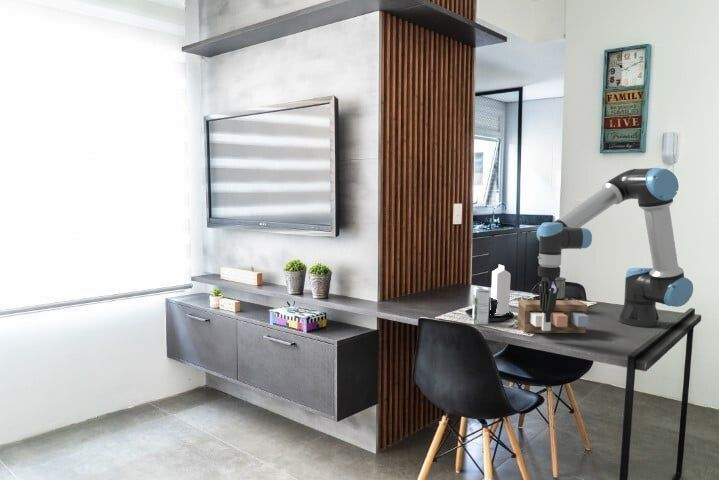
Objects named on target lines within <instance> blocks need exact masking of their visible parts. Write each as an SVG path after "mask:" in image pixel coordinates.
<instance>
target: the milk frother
mask: <svg viewBox="0 0 719 480" xmlns="http://www.w3.org/2000/svg"><path fill="white" fill-rule="evenodd" d="M566 280H567V278H565V277H563V276H560V277H558V278H555V281H556V288H559V291H558V294H557V299H556V300H565V293H566V292H565V291H566ZM526 300H535V298H534V299H533V298H528V299H526Z"/></svg>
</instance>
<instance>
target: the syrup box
mask: <svg viewBox="0 0 719 480" xmlns="http://www.w3.org/2000/svg"><path fill="white" fill-rule="evenodd" d="M490 296H491V289H489V288H488V287H486V286H474V287H473V299H472V314H471V321H472V323H473V324H474V325H488V324H489V315H490V314H489V311H490Z"/></svg>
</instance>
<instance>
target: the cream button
mask: <svg viewBox="0 0 719 480" xmlns="http://www.w3.org/2000/svg"><path fill="white" fill-rule="evenodd" d="M529 322H530V323H531V324H533V325H534V326H535V327H542V313H541V312H539V311H529Z"/></svg>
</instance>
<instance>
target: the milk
mask: <svg viewBox="0 0 719 480" xmlns="http://www.w3.org/2000/svg"><path fill="white" fill-rule="evenodd" d="M511 276H512V275H511V273H510V272H509V271H507V270H506V269H505V265H502V264H498V267H497V268H496V269H494V270H492V271H491V287H490V299H491V298H493V299H496V300H497V302H498V304H497V309H496V313H495V314H506V313H509V314H510V301H511V300H510V299H511V298H510V295H511Z"/></svg>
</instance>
